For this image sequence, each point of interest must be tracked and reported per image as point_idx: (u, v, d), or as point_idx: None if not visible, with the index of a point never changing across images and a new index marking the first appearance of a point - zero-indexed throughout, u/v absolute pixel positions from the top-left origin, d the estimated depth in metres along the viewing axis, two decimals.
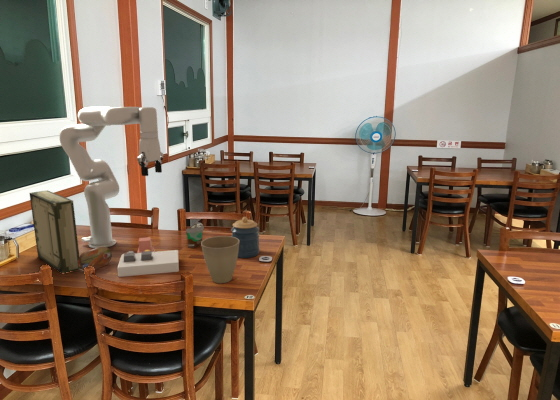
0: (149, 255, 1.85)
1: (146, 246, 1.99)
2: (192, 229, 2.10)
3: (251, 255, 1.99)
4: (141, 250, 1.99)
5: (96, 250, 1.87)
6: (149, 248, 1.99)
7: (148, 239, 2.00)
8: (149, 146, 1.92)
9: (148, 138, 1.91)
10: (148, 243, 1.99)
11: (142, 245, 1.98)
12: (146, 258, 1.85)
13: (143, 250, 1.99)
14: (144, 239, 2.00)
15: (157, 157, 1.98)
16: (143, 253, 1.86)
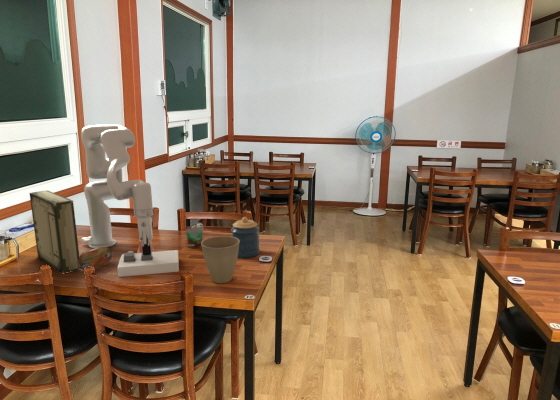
0: (149, 256, 1.85)
1: None
2: (192, 229, 2.10)
3: (251, 255, 1.99)
4: (141, 250, 1.99)
5: (96, 250, 1.87)
6: None
7: None
8: None
9: None
10: None
11: None
12: (146, 259, 1.85)
13: None
14: None
15: None
16: None
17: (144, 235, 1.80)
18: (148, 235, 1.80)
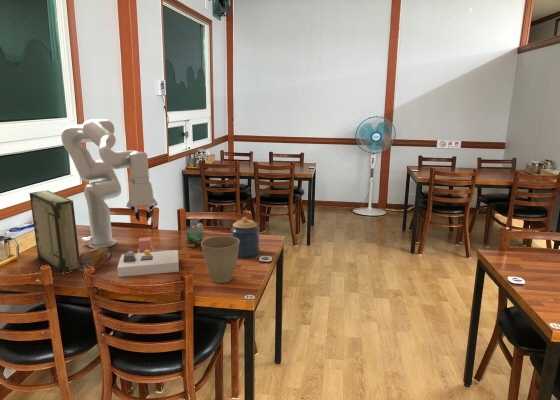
0: (149, 259, 1.86)
1: (146, 246, 1.99)
2: (192, 229, 2.10)
3: (251, 255, 1.99)
4: (141, 250, 1.99)
5: (96, 250, 1.87)
6: (149, 248, 1.99)
7: (148, 239, 2.00)
8: None
9: None
10: (148, 243, 1.99)
11: (142, 245, 1.98)
12: None
13: (143, 250, 1.99)
14: (144, 239, 2.00)
15: None
16: (143, 257, 1.86)
17: None
18: (129, 200, 1.93)
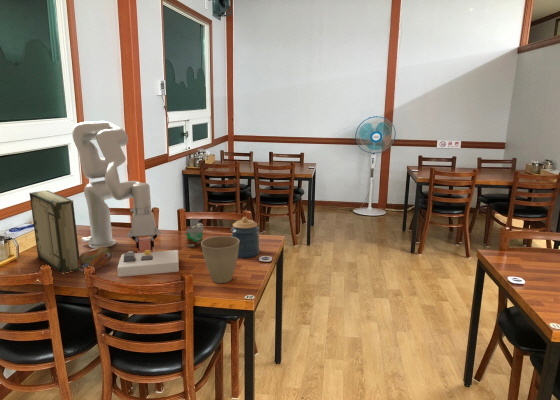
0: (149, 259, 1.86)
1: (146, 246, 1.99)
2: (192, 229, 2.10)
3: (251, 255, 1.99)
4: (141, 250, 1.98)
5: (96, 250, 1.87)
6: (149, 248, 1.99)
7: (148, 239, 2.00)
8: None
9: None
10: (148, 243, 1.98)
11: (142, 245, 1.98)
12: None
13: (143, 250, 1.99)
14: (144, 239, 2.00)
15: None
16: (143, 257, 1.86)
17: (131, 229, 1.98)
18: (131, 230, 1.96)
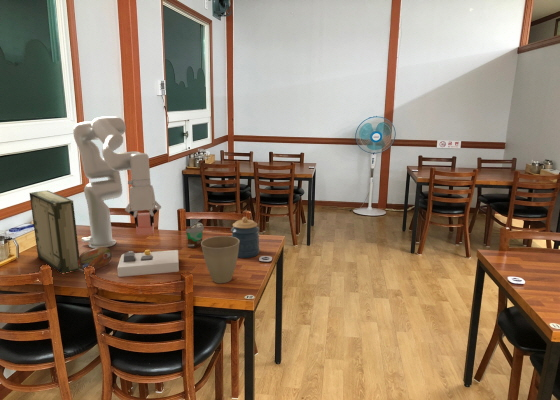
0: (149, 259, 1.86)
1: (145, 221, 1.84)
2: (192, 229, 2.10)
3: (251, 255, 1.99)
4: (140, 226, 1.84)
5: (96, 250, 1.87)
6: (149, 224, 1.85)
7: (147, 214, 1.86)
8: None
9: None
10: (147, 218, 1.84)
11: (141, 220, 1.84)
12: None
13: (142, 226, 1.85)
14: (143, 214, 1.86)
15: None
16: (143, 257, 1.86)
17: (129, 203, 1.84)
18: (129, 205, 1.82)
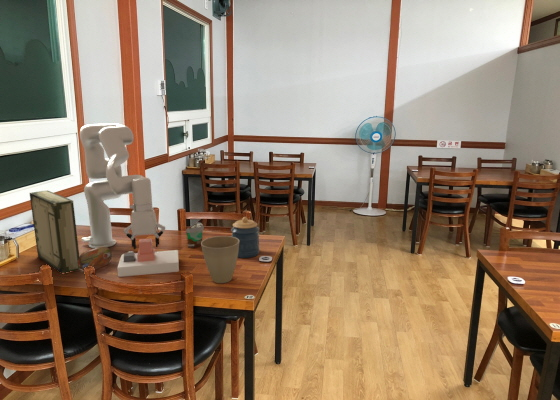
0: None
1: (147, 248, 1.84)
2: (192, 229, 2.10)
3: (251, 255, 1.99)
4: (141, 252, 1.84)
5: (96, 250, 1.87)
6: (150, 250, 1.84)
7: (149, 240, 1.85)
8: None
9: None
10: (149, 245, 1.84)
11: (142, 247, 1.83)
12: None
13: (144, 252, 1.84)
14: (145, 240, 1.85)
15: None
16: None
17: None
18: None
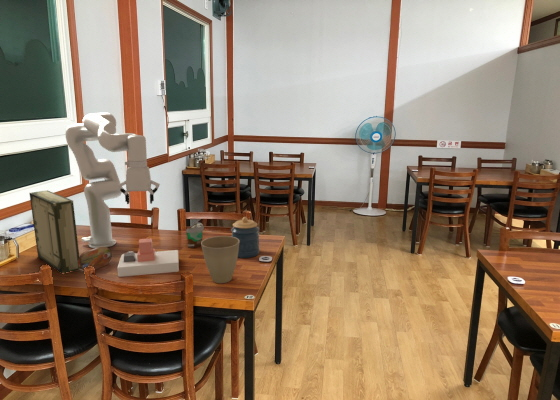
0: None
1: (147, 248, 1.84)
2: (192, 229, 2.10)
3: (251, 255, 1.99)
4: (141, 252, 1.84)
5: (96, 250, 1.87)
6: (150, 250, 1.84)
7: (149, 240, 1.85)
8: None
9: None
10: (149, 245, 1.84)
11: (142, 247, 1.83)
12: None
13: (144, 252, 1.84)
14: (145, 240, 1.85)
15: None
16: None
17: (124, 181, 1.89)
18: (126, 185, 1.88)
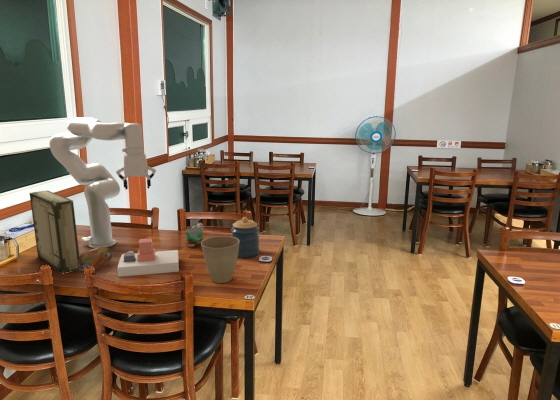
0: None
1: (147, 248, 1.84)
2: (192, 229, 2.10)
3: (251, 255, 1.99)
4: (141, 252, 1.84)
5: (96, 250, 1.87)
6: (150, 250, 1.84)
7: (149, 240, 1.85)
8: None
9: None
10: (149, 245, 1.84)
11: (142, 247, 1.83)
12: None
13: (144, 252, 1.84)
14: (145, 240, 1.85)
15: None
16: None
17: None
18: (124, 171, 1.97)
